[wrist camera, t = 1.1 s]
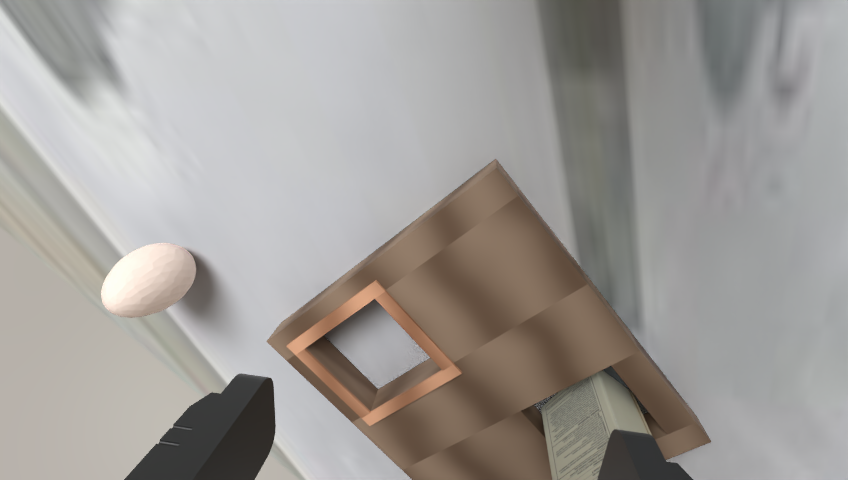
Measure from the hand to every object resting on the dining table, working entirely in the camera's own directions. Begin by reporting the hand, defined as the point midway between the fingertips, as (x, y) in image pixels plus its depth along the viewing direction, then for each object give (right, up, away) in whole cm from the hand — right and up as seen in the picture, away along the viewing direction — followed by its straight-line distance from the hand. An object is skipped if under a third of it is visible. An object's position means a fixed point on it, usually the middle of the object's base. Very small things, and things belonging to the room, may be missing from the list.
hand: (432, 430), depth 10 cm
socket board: (+4, -6, +25) cm, 26 cm away
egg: (-19, +3, +24) cm, 31 cm away
